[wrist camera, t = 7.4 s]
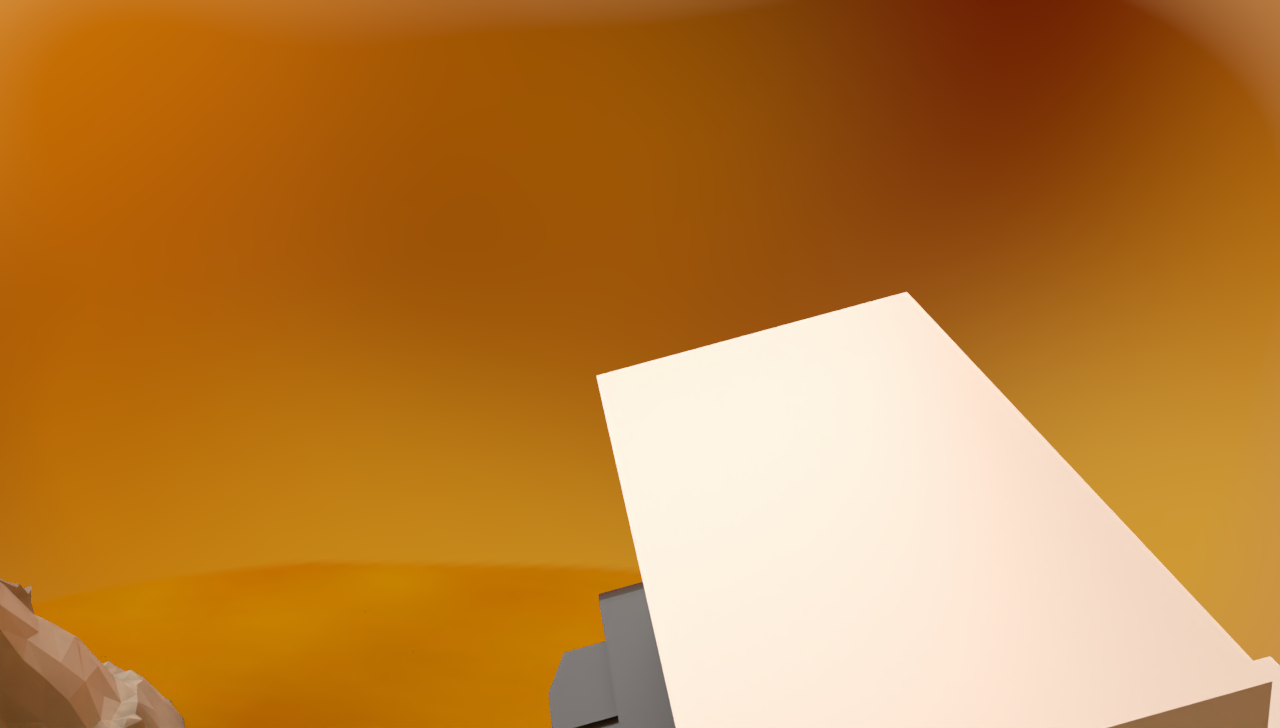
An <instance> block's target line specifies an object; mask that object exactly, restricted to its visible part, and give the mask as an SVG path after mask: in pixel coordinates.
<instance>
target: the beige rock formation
mask: <svg viewBox="0 0 1280 728" xmlns="http://www.w3.org/2000/svg"><path fill="white" fill-rule="evenodd" d="M31 588H32V586H30V587H27V588H22V586H21V585H20V584H16V583H9V582H5V581H3V580H2V579H0V728H185V727H184V722H183V717H182V716H181V715H180V714H179V713H178V712H177V711H176V710H175V708H174V707H173V705H172V704H171V702H170V700H167V699H166V698H165V697H163V696H162V695H161V694H160V693H159V692H158V691H157V690H156V689H155V688H154V687H153V686H152V685H151V684H150V683H148V682H147V681H146V680H145V679H144V678H143V677H142V676H139V675H138V674H136V673H135V672H134V671H132V670H130V671H124V670H122V669H120V668H118V667H117V666H115V665H114V664H112V663H111V662H109V661H108V662H105V663H103V664H102V663H101V662H100V661H99V660H98V659H97V658H96V657H95V656H94V654H93V653H92V652H91V651H90V650H89V649H88V648H87V647H86V646H85V645H84V644H83V643H82V641H81V640H80V639H79V638H77V637H76V636H74V635H72V634H70V633H69V632H67V631H65V630H63V629H62V628H60V627H58V626H57V625H55V624H53V623H51V622H49V621H47V620H45V619H43V618H41V617H39V616H36V615H34V612H33V608H32V604H31Z"/></svg>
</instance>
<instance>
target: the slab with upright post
mask: <svg viewBox="0 0 1280 728" xmlns="http://www.w3.org/2000/svg"><path fill="white" fill-rule="evenodd" d="M596 377H597V381H598V386H599V390H600V395H601V399H602V404H603V408H604V412H605V417H606V421H607V425H608V430H609V435H610V439H611V444H612V448H613V452H614V457H615V461H616V466H617V470H618V475H619V479H620V483H621V487H622V492H623V497H624V501H625V506H626V509H627V514H628V519H629V523H630V528H631V532H632V537H633V541H634V545H635V549H636V554H637V559H638V563H639V568H640V572H641V576H642V581H643V585H644V590H645V594H646V599H647V603H648V607H649V612H650V616H651V621H652V625H653V630H654V634H655V638H656V643H657V647H658V652H659V656H660V661H661V665H662V669H663V674H664V678H665V683H666V687H667V692H668V696H669V700H670V705H671V709H672V714H673V718H674V723H675V727H676V728H1280V665H1279V664H1277V662H1276V661H1275V660H1274V659H1273V658H1272V657H1271V656H1269V657H1265V658H1262V659H1258V660H1255V661H1253V660H1252V659H1251V658H1250V657H1249V656H1248V655H1247V654H1246V653H1245V652H1244V651H1243V649H1242V648H1241V647H1240V646H1239V645H1238V644H1237V643H1236V642H1235V641H1234V640H1233V639H1232V638H1231V637H1230V636H1229V635H1228V634H1227V632H1226V631H1225V630H1224V629H1223V628H1222V627H1221V626H1220V625H1219V624H1218V623H1217V622H1216V621H1215V620H1214V619H1213V618H1212V617H1211V615H1210V614H1209V613H1208V612H1207V611H1206V610H1205V609H1204V608H1203V607H1202V606H1201V605H1200V604H1199V603H1198V602H1197V600H1196V599H1195V598H1194V597H1193V596H1192V595H1191V594H1190V593H1189V592H1188V591H1187V590H1186V589H1185V588H1184V587H1183V586H1182V585H1181V584H1180V583H1179V581H1178V580H1177V579H1176V578H1175V577H1174V576H1173V575H1172V574H1171V573H1170V572H1169V571H1168V570H1167V568H1165V566H1164V565H1163V564H1162V563H1161V562H1160V561H1159V560H1158V559H1157V558H1156V557H1155V556H1154V555H1153V554H1152V552H1151V551H1150V550H1149V549H1147V547H1146V546H1145V545H1144V544H1143V543H1142V542H1141V541H1140V540H1139V539H1138V538H1137V537H1136V535H1135V534H1134V533H1133V532H1132V531H1131V530H1130V529H1129V528H1128V527H1127V526H1126V525H1125V524H1124V523H1123V522H1122V521H1121V519H1119V518H1118V516H1117V515H1116V514H1115V513H1114V512H1113V511H1112V510H1111V509H1110V508H1109V507H1108V506H1107V505H1106V503H1104V501H1103V500H1102V499H1101V498H1100V497H1099V496H1098V495H1097V494H1096V493H1095V492H1094V491H1093V490H1092V489H1091V487H1090V486H1089V485H1088V484H1087V483H1086V482H1085V481H1084V480H1083V479H1082V478H1081V477H1080V476H1079V475H1078V474H1077V473H1076V472H1075V470H1074V469H1073V468H1072V467H1071V466H1070V465H1069V464H1068V463H1067V462H1066V461H1065V460H1064V459H1063V458H1062V457H1061V456H1060V454H1059V453H1058V452H1057V451H1056V450H1055V449H1054V448H1053V447H1052V446H1051V445H1050V444H1049V443H1048V442H1047V441H1046V440H1045V439H1044V438H1043V436H1042V435H1041V434H1040V433H1039V432H1038V431H1037V430H1036V429H1035V428H1034V427H1033V426H1032V425H1031V424H1030V422H1028V420H1026V418H1025V417H1024V416H1023V415H1022V414H1021V413H1020V412H1019V411H1018V410H1017V409H1016V408H1015V407H1014V406H1013V404H1012V403H1011V402H1010V401H1009V400H1008V399H1007V398H1006V397H1005V396H1004V395H1003V394H1002V393H1001V392H1000V391H999V389H998V388H997V387H995V385H994V384H993V383H992V382H991V381H990V380H989V379H988V378H987V377H986V376H985V375H984V374H983V372H982V371H981V370H980V369H979V368H978V367H977V366H976V365H975V364H974V363H973V362H972V361H971V360H970V359H969V357H968V356H967V355H966V354H965V353H964V352H963V351H962V350H961V349H960V348H959V347H958V346H957V345H956V344H955V343H954V341H952V339H951V338H950V337H949V336H948V335H947V334H946V333H945V332H944V331H943V330H942V329H941V328H940V327H939V326H938V324H937V323H936V322H935V321H934V320H933V319H932V318H931V317H930V316H929V315H928V314H927V313H926V312H925V311H924V310H923V308H922V307H921V306H920V305H919V304H918V303H917V302H916V301H915V300H914V299H913V298H912V297H911V296H910V295H909V294H908V292H904V293H900V294H897V295H893V296H889V297H886V298H882V299H878V300H875V301H871V302H867V303H864V304H860V305H856V306H853V307H849V308H845V309H842V310H838V311H834V312H831V313H826V314H823V315H819V316H815V317H812V318H808V319H805V320H801V321H797V322H793V323H790V324H786V325H782V326H778V327H775V328H771V329H768V330H764V331H760V332H756V333H752V334H749V335H745V336H741V337H738V338H734V339H731V340H727V341H723V342H719V343H715V344H712V345H708V346H704V347H701V348H697V349H693V350H690V351H686V352H682V353H679V354H675V355H671V356H667V357H664V358H660V359H656V360H653V361H649V362H645V363H642V364H638V365H634V366H630V367H627V368H623V369H620V370H616V371H612V372H608V373H605V374H601V375H597V376H596Z"/></svg>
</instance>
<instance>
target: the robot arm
mask: <svg viewBox="0 0 1280 728" xmlns="http://www.w3.org/2000/svg"><path fill="white" fill-rule="evenodd" d="M599 603H600V609H601V615H602V621H603V628H604V634H605V640H606V641H605V642H601V643H598V644H594V645H591V646H587V647H583V648H580V649H576V650H572V651H569V652H565V653H564V654H563V657H562V660H561V662H560V665H559V667H558V670H557V673H556V675H555V678H554V680H553V683H552V686H551V688H550V691H549V702H550V713H551V725H552V728H676V727H675V723H674V718H673V714H672V709H671V705H670V700H669V696H668V692H667V687H666V683H665V678H664V674H663V669H662V665H661V661H660V656H659V652H658V647H657V643H656V638H655V634H654V630H653V625H652V621H651V616H650V612H649V607H648V603H647V599H646V594H645V590H644V585H643V582H641V583H637V584H634V585H630V586H626V587H623V588H619V589H616V590H612V591H608V592H605V593H601V594H599Z"/></svg>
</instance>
